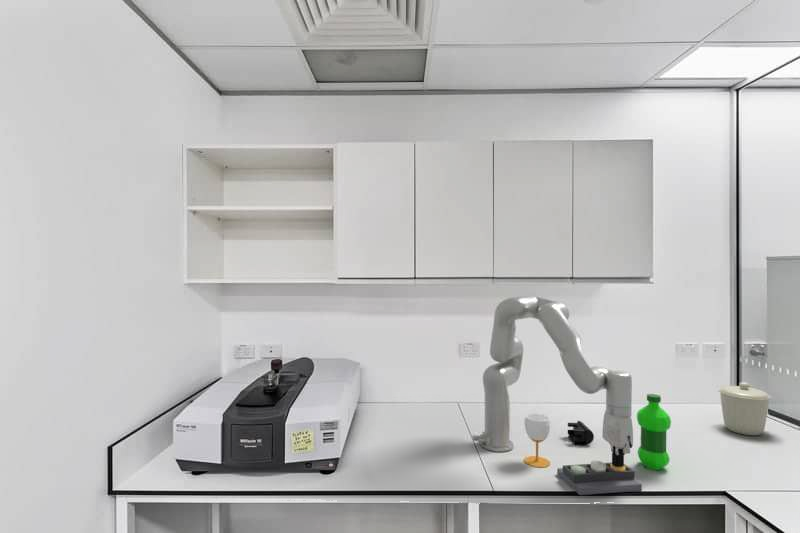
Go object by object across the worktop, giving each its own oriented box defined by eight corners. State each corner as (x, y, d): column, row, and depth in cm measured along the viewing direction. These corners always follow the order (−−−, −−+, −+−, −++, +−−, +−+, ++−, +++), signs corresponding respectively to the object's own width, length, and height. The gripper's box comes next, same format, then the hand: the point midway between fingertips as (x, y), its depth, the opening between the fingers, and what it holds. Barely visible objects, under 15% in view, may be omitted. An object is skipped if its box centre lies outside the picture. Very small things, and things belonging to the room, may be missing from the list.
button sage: (575, 479, 145) (575, 472, 145) (567, 473, 150) (567, 465, 150) (588, 479, 146) (588, 471, 146) (580, 472, 151) (580, 464, 151)
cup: (525, 455, 170) (525, 411, 170) (551, 459, 166) (551, 415, 166) (522, 465, 161) (522, 419, 161) (549, 469, 158) (550, 423, 158)
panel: (579, 495, 141) (579, 480, 141) (557, 474, 154) (557, 461, 154) (641, 490, 144) (641, 476, 144) (614, 470, 158) (614, 457, 158)
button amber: (615, 477, 147) (615, 469, 147) (607, 470, 152) (607, 463, 152) (628, 476, 148) (628, 468, 148) (619, 469, 153) (619, 462, 153)
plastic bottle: (653, 475, 154) (654, 401, 154) (629, 462, 165) (630, 392, 164) (677, 471, 157) (677, 398, 157) (652, 458, 167) (653, 390, 167)
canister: (762, 442, 184) (763, 390, 183) (711, 429, 198) (711, 380, 198) (776, 433, 194) (777, 383, 194) (727, 421, 209) (727, 375, 209)
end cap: (594, 446, 179) (594, 429, 178) (575, 446, 179) (575, 428, 179) (584, 437, 188) (584, 420, 188) (567, 436, 189) (567, 420, 189)
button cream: (595, 475, 146) (595, 467, 146) (587, 468, 151) (587, 461, 151) (608, 474, 147) (608, 466, 147) (600, 467, 152) (600, 460, 152)
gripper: (594, 403, 157) (594, 456, 157) (622, 417, 142) (621, 476, 142) (615, 402, 158) (614, 455, 158) (644, 416, 143) (643, 475, 143)
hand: (617, 465), depth 150 cm, fingers closed
